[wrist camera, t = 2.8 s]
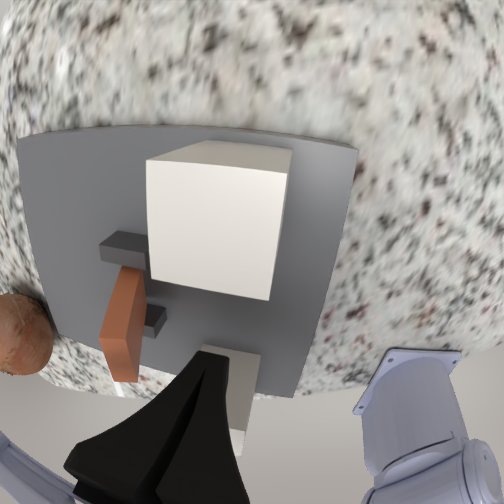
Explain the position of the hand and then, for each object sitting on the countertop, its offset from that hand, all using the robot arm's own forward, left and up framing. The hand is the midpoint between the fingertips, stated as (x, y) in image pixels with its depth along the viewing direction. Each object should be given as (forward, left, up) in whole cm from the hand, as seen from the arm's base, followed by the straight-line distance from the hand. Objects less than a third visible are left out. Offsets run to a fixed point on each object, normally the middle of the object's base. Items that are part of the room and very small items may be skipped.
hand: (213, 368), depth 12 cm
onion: (-11, +24, -9) cm, 28 cm away
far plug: (-7, 0, -6) cm, 9 cm away
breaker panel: (0, +6, -8) cm, 10 cm away
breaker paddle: (0, +6, -4) cm, 8 cm away
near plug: (+6, 0, -6) cm, 9 cm away
